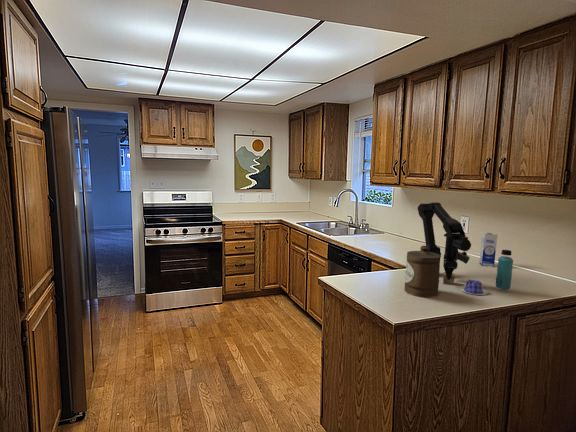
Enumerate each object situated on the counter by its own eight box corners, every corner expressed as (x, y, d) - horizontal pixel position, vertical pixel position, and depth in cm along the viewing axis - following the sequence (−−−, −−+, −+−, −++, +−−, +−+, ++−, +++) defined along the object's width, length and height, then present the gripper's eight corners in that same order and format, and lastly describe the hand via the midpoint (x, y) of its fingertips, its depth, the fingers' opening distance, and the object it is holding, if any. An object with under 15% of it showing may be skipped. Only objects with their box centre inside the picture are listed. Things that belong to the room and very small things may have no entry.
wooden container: (405, 285, 182) (408, 241, 179) (437, 289, 177) (441, 244, 174) (403, 294, 168) (406, 247, 166) (438, 299, 163) (442, 250, 160)
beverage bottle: (512, 290, 178) (516, 250, 175) (507, 293, 173) (512, 252, 171) (497, 287, 183) (501, 248, 180) (492, 290, 178) (497, 249, 175)
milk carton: (481, 265, 224) (484, 233, 222) (479, 263, 231) (482, 231, 228) (494, 267, 222) (497, 234, 220) (491, 264, 229) (495, 232, 226)
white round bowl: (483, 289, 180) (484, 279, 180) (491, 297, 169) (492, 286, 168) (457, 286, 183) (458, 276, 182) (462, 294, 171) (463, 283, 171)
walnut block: (442, 284, 186) (443, 274, 185) (443, 281, 191) (443, 272, 190) (453, 285, 184) (454, 275, 183) (453, 282, 189) (454, 273, 188)
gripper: (470, 252, 173) (467, 284, 175) (468, 245, 190) (465, 274, 192) (444, 249, 178) (442, 281, 180) (444, 242, 195) (442, 271, 197)
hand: (448, 276), depth 187 cm, fingers open, 9 cm apart
